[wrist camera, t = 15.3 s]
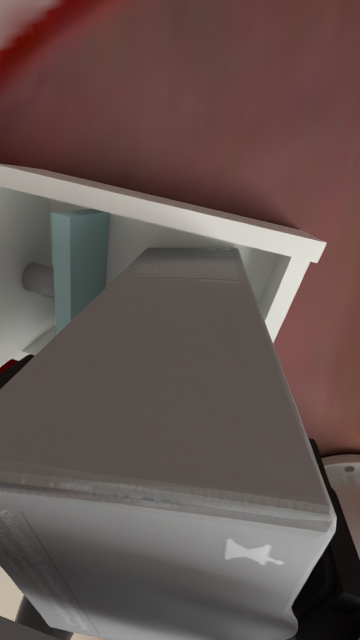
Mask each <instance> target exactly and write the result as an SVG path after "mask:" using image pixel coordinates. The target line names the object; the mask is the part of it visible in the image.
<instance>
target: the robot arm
mask: <svg viewBox="0 0 360 640" xmlns="http://www.w3.org/2000/svg"><path fill="white" fill-rule="evenodd" d="M34 356H35V355H32V354H29V355H27V356H25V357H24V358H22V359H21V360H20V361H18V362H17V363H16V364H14V365H13V366H12V367H10V368H9V369H8V370H6V371H5V372H4V373H2V374H1V375H0V389H1V388H2V387H3V386H4V385H5V384H6V383H7V382H9V381H10V380H11V379H12V378H13V377H14V376H15V375H16V374H17V373H18V372H19V371H20V370H21V369H22V368H23V367H24V366H25V365H26V364H27V363H28V362H29V361H30V360H31V359H32V358H33V357H34ZM308 439H309V442H310V445H311V447H312V450H313V453H314V456H315V459H316V462H317V465H318V467H319V470H320V473H321V476H322V478H323V481H324V484H325V487H326V489H327V492H328V495H329V498H330V500H331V503H332V506H333V508H334V511H335V514H336V517H337V520H336V530H335V533H334V535H333V537H332V538H331V540H330V542H329V544H328V545H327V547H326V549H325V550H324V552H323V554H322V555H321V557H320V558H319V560H318V562H317V563H316V565H315V566H314V568H313V569H312V571H311V573H310V575H309V577H308V578H307V580H306V582H305V584H304V585H303V587H302V589H301V590H300V592H299V594H298V595H297V597H296V599H295V600H294V602H293V604H292V607H291V608H292V611H293V614H294V616H295V618H296V619H297V622H298V630H297V633H296V634H295V635H294V636H293V637H291V638H288V639H286V640H360V455H354V454H345V455H334V456H329V457H324V458H321V456H320V453H319V450H318V447H317V444H316V442H315V441H314V440H313V439H310V438H308ZM0 640H60V639H57V638H55V637H52V636H50V635H47V634H45V633H42V632H40V631H37V630H34V629H32V628H29V627H27V626H24V625H22V624H19V623H17V622H14V621H12V620H9V619H7V618H4V617H1V616H0Z"/></svg>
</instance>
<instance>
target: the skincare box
mask: <svg viewBox="0 0 360 640" xmlns="http://www.w3.org/2000/svg"><path fill="white" fill-rule="evenodd" d="M336 520H337V517H336V514H335V511H334V508H333V506H332V503H331V500H330V498H329V495H328V492H327V489H326V487H325V484H324V481H323V478H322V476H321V473H320V470H319V467H318V465H317V462H316V459H315V456H314V453H313V450H312V447H311V445H310V442H309V439H308V437H307V434H306V432H305V429H304V426H303V424H302V421H301V418H300V416H299V413H298V410H297V407H296V404H295V402H294V399H293V396H292V394H291V391H290V388H289V386H288V383H287V380H286V377H285V375H284V372H283V369H282V366H281V363H280V361H279V358H278V355H277V352H276V350H275V347H274V345H273V342H272V339H271V337H270V334H269V331H268V329H267V326H266V323H265V320H264V317H263V315H262V312H261V309H260V307H259V304H258V302H257V299H256V296H255V293H254V290H253V288H252V285H251V282H250V279H249V277H248V274H247V271H246V268H245V266H244V263H243V260H242V257H241V254H240V252H239V249H237V248H147V249H146V250H145V251H143V252H142V253H141V254H140V255H139V256H138V257H137V258H136V259H135V260H134V261H133V262H132V263H131V264H130V265H129V266H128V267H127V268H126V269H125V270H124V271H123V272H122V273H121V274H120V275H118V276H117V277H116V278H115V279H114V280H113V281H112V282H111V283H110V284H109V285H108V286H107V287H106V288H105V289H104V290H103V291H102V292H101V293H100V294H99V295H98V296H97V297H96V298H95V299H94V300H93V301H92V302H91V303H90V304H89V305H88V306H86V307H85V308H84V309H83V310H82V311H81V312H80V313H79V314H78V315H77V316H76V317H75V318H74V319H73V320H72V321H71V322H70V323H69V324H68V325H67V326H66V327H64V328H63V329H62V330H61V331H60V332H59V333H58V334H57V335H56V336H55V337H54V338H53V339H52V340H51V341H50V342H49V343H48V344H47V345H46V346H45V347H44V348H43V349H42V350H41V351H40V352H38V353H37V354H36V355H35V356H34V357H33V358H32V359H31V360H30V361H29V362H28V363H27V364H26V365H25V366H24V367H23V368H22V369H21V370H20V371H19V372H18V373H17V374H16V375H15V376H14V377H13V378H12V379H11V380H10V381H9V382H7V383H6V384H5V385H4V386H3V387H2V388H1V389H0V566H1V567H2V568H3V569H4V570H5V572H6V573H7V574H8V575H9V576H10V577H11V579H12V580H13V581H14V583H15V584H16V585H17V586H18V588H19V589H20V590H21V591H22V593H23V594H24V595H25V596H26V597H27V599H28V600H29V601H30V602H31V603H32V605H33V606H34V607H35V608H36V609H37V611H38V612H39V613H40V614H41V616H42V617H43V619H44V620H45V621H46V623H47V624H48V625H49V626H50V627H53V628H57V629H61V630H66V631H70V632H74V633H79V634H84V635H89V636H94V637H100V638H105V639H110V640H286V639H288V638H291V637H293V636H294V635H295V634H296V633H297V630H298V622H297V619H296V618H295V616H294V614H293V611H292V608H291V607H292V604H293V602H294V600H295V599H296V597H297V595H298V594H299V592H300V590H301V589H302V587H303V585H304V584H305V582H306V580H307V578H308V577H309V575H310V573H311V571H312V569H313V568H314V566H315V565H316V563H317V562H318V560H319V558H320V557H321V555H322V554H323V552H324V550H325V549H326V547H327V545H328V544H329V542H330V540H331V538H332V537H333V535H334V533H335V530H336Z"/></svg>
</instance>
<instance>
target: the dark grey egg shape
mask: <svg viewBox="0 0 360 640" xmlns="http://www.w3.org/2000/svg"><path fill="white" fill-rule="evenodd" d="M15 622H17V623H19V624H22V625H24V626H27V627H29V628H32V629H34V630H37V631H40V632H42V633H45V634H47V635H50V636H52V637H55V638H57V639H60V640H70V639H71V637H72V635H73V634H74V632H70V631H66V630H61V629H57V628H53V627H50V626H49V625H48V624H47V623H46V621H45V620H44V619H43V617H42V616H41V614H40V613H39V612H38V611H37V609H36V608H35V607H34V606H33V605H32V603H31V602H30V601H29V600H28V599H27V597H26V596H25V595H24V596H23V599H22V601H21V604H20V607H19V610H18V613H17V616H16V619H15Z"/></svg>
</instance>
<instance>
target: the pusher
mask: <svg viewBox="0 0 360 640" xmlns="http://www.w3.org/2000/svg"><path fill="white" fill-rule="evenodd" d="M51 216H52V242H53V267H50V266H47V265H43V264H39V263H35V262H33V263H30V264H28V265H27V266H26V268H25V269H24V271H23V274H22V284H23V287H24V288H25V289H26V290H27V291H31V292H34V293H38V294H42V295H46V296H49V297H53V298H55V321H56V335H57V334H58V333H59V332H60V331H61V330H62V329H63V328H64V327H66V326H67V325H68V324H69V323H70V322H71V321H72V320H73V319H74V318H75V317H76V316H77V315H78V314H79V313H80V312H81V311H82V310H83V309H84V308H85V307H86V306H88V305H89V304H90V303H91V302H92V301H93V300H94V299H95V298H96V297H97V296H98V295H99V294H100V293H101V292H102V291H103V290H104V289H105V280H106V265H107V249H108V234H109V218H110V213H108V212H104V211H100V210H96V209H83V210H73V211H63V212H53V213H51Z"/></svg>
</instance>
